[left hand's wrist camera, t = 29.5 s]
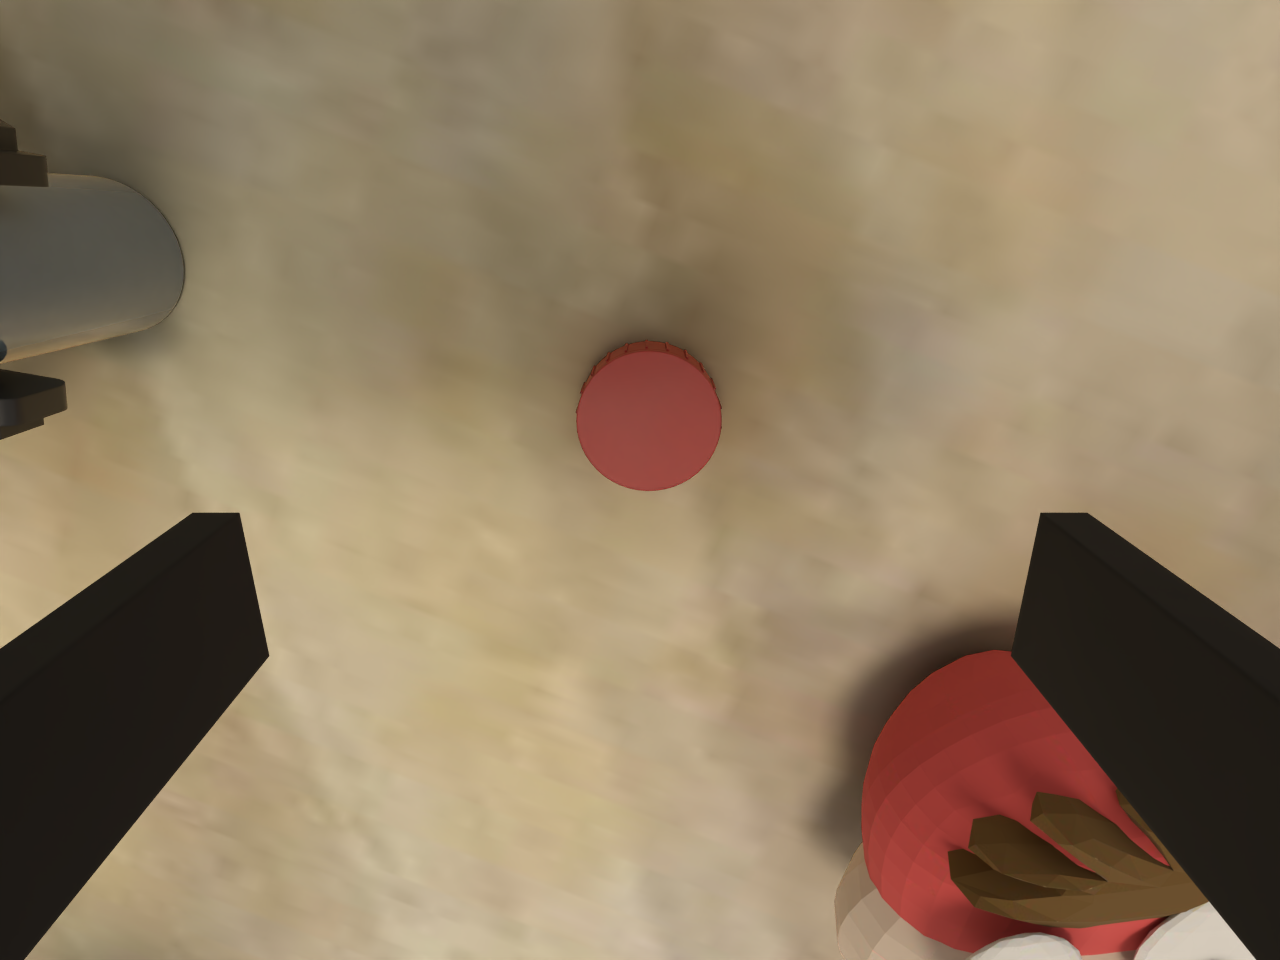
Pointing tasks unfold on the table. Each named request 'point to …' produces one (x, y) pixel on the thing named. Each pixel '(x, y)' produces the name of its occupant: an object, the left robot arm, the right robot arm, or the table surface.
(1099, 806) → the toy
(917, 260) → the table surface
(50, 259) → the bottle
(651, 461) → the cap
